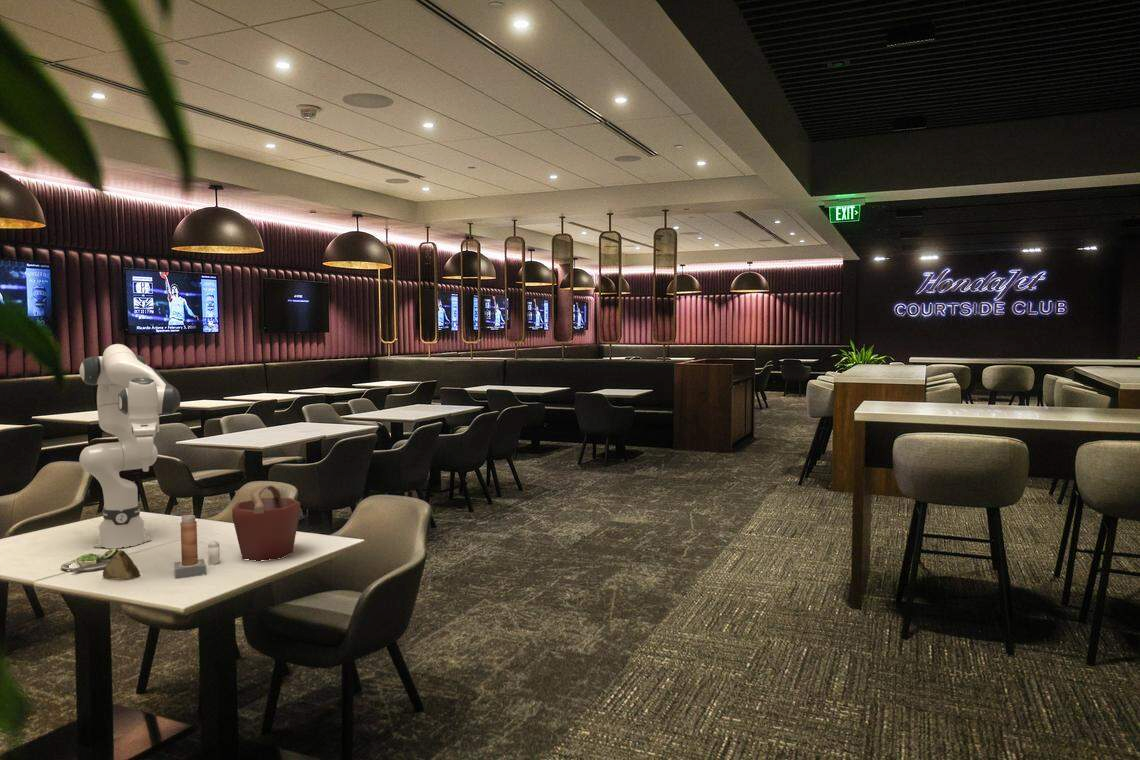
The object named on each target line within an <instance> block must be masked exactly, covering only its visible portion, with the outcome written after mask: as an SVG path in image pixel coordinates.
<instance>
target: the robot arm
mask: <svg viewBox="0 0 1140 760" xmlns="http://www.w3.org/2000/svg"><path fill="white" fill-rule="evenodd" d="M79 375H80V378H81V379H82V382H83V383H84V384H85V385H89V386H97V385H98V386H97V391H96V405H97V406H96V408H97V416H98V418H97V419H98V426H99V428H100V429H101V430H102V431H103V432H105V433H107V434H110V435H113V436H115V437H116V438H117V440H118V441H116V442H115V441H114V442H113V441H112V442H102V443H96V444H93V445H92V444H91V445H88V446H86V447H84V448H83V449H82V450H81V452H80V455H79V459H78V461H79V464H80V466H81V468H82V469H83V470H84V471H85V472H86V473H87V474H89V475H92V476H93V477H94V478H95V479H96V480H97V481H98V482H99V484H100V486H101V489H102V494H103V504H104V505H103V506H104V507H103V509H102V516H103V517H102V518H103V521H102V522H101V523H99V525H98V540H96V541H95V543H94V544H93V546H94V547H93V548H101V547H105V548H104V549H113V548H117V549H123V548H122V547H124V548H129V546H131V547H134V546H138V544H139V545H141V544H143V542H144V543H148V542H151V541H152V537H150V536H149V535H148V534H147V533H146V527H145V526H146V525H145V520H144V519H143V518H142V517H141V516H140V511H141V508H140V505H139V498H138V497H139V496H138V495H139V494H138V491H139V490H138V485H137V484H136V483H135V482H133V481H131V480H128V479H125V478H122V477H121V476H120V472H122V471H123V472H124V471H131V470H140V469H142V471H143V472H150V471H149V470H150V467H151V466H153V465H154V464H155V462H156V461H157V459H158V453H159V452H158V449H157V447H156V445H155V444H154V441H155V440H154V439H155V438H156V434H157V433H160V416H159V415H173V414H174V413H176V411H177V410H179V408H180V407H181V395H180V392H179V390H178V389H177V388H176V387H175V386H173V385H172V384H170V383H169V382H168V381H167V380H166V379H165V378H164V377H163V376H162V375H161V374H160V373H159V371H157V369H155V368H154V367H151V366H148V363H147V362H146V359H145V358H144V357H143V356H141V355H139V354H138V355H137V354H135V353H134V352H133V351H132V350H131V348H129V347H128V346H126V345H125V344H123V343H122V344H121V343H115V344H114V343H113V344H111V345H109V346H108V347H106V348H105V349H104V351H103V353H102V356H101V355H100V356H96V355H94V356H90V357H86V358H85V359H83V360H82V361H81V363H80V367H79ZM150 540H151V541H150ZM147 541H148V542H147Z"/></svg>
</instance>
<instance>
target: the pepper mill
mask: <svg viewBox="0 0 1140 760" xmlns="http://www.w3.org/2000/svg"><path fill="white" fill-rule="evenodd" d="M197 528H198V524H197V520H196V515H194V514H187V515H182V516H181V522H180V545H181V546H180V547H181V549H180V550H181V562H182V565H183V566H191V565H195V564H197V563H198V555H199V554H198V553H199V552H198V529H197Z"/></svg>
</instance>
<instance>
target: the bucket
mask: <svg viewBox="0 0 1140 760" xmlns="http://www.w3.org/2000/svg"><path fill="white" fill-rule="evenodd" d="M266 489H267V490H268V491H271V495H272V497H261V495H262V493H263V492H265V490H266ZM249 496H250V498H251V500H250V499H249V500H244V501H239V502H236V503H235V504H234V506H233V507H232V508H231V512H232V513H231V515H232V516H231V517H232V520H233V521H232V522H233V525H234V529H235V534H236V538H237V542H238V545H239V551H240V555H241V558H242V560H244V559H249V560H248V561H250V560H256V561H261V560H269V559H277V560H279V559H278V558H282V557H284V556H286V555H288V554H290V553H292V554H293V551H294V545H295V541H296V535H297V531H298V530H297V529H298V525H299V520H300V513H301V502H300V501H298V500H296V499H294V498H291V497H282V494H281V491H280V489H279V488H277V487H276V486H274V485H271V484H270V485H269V484H266V485H265V484H264V485H261V486H258V487H256V488H255V489H254V490H253V491H251V493H250V495H249ZM290 555H291V554H290ZM288 556H289V555H288ZM286 557H287V556H286ZM284 558H285V557H284ZM282 559H283V558H282ZM256 561H255V562H256ZM269 561H270V560H269ZM261 562H262V561H261Z"/></svg>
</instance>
